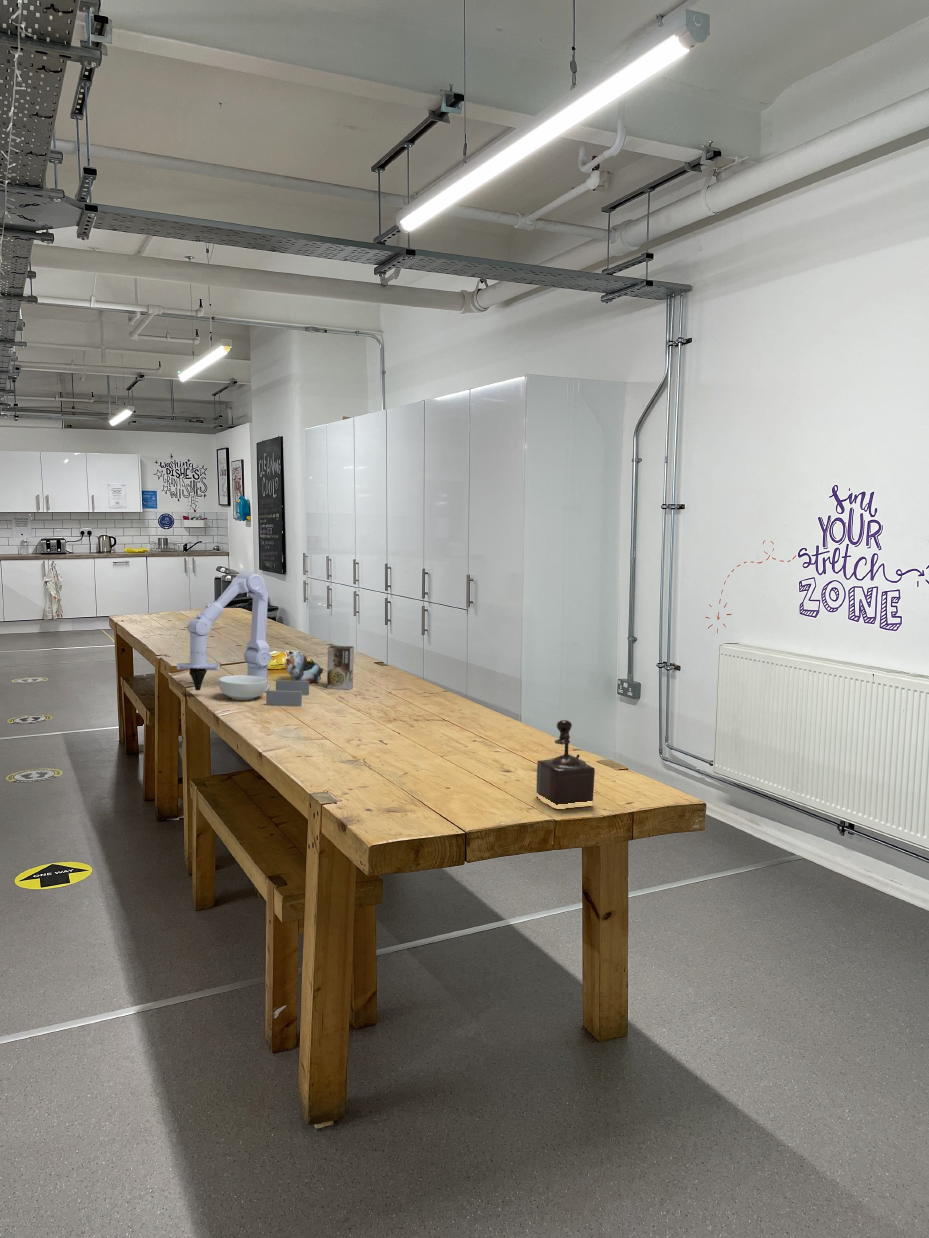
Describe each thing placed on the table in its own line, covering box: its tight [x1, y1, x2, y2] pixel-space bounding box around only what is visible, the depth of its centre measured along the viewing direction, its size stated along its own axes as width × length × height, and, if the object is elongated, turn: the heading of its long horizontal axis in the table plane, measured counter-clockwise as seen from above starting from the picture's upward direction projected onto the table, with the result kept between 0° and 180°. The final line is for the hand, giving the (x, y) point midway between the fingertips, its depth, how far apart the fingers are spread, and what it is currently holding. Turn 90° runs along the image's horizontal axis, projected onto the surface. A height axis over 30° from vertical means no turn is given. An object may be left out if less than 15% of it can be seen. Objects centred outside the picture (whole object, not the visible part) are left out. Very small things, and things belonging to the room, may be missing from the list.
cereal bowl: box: [218, 674, 268, 701], centre depth 314 cm, size 17×17×7 cm
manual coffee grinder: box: [536, 719, 596, 805], centre depth 212 cm, size 16×11×18 cm
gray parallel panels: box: [265, 679, 310, 707], centre depth 315 cm, size 21×12×5 cm, turn 3°
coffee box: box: [326, 645, 355, 691], centre depth 341 cm, size 9×6×16 cm
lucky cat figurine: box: [284, 650, 324, 685], centre depth 352 cm, size 15×12×14 cm
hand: (197, 689), depth 313 cm, fingers closed
